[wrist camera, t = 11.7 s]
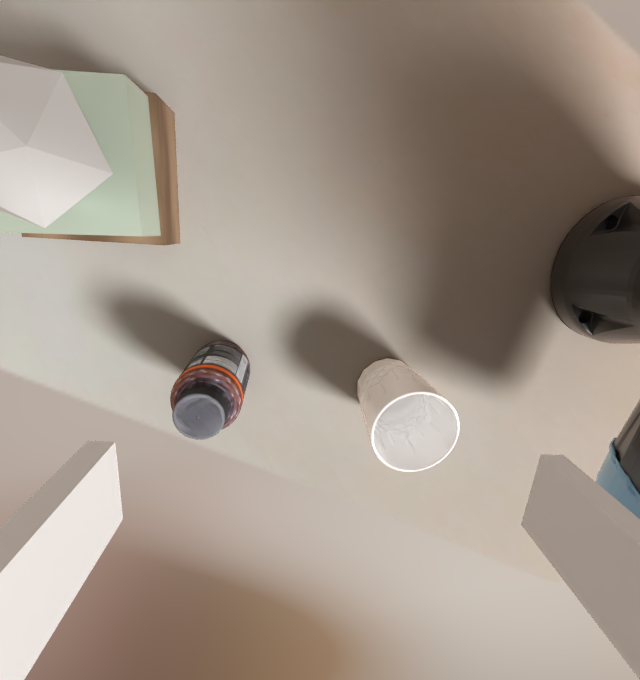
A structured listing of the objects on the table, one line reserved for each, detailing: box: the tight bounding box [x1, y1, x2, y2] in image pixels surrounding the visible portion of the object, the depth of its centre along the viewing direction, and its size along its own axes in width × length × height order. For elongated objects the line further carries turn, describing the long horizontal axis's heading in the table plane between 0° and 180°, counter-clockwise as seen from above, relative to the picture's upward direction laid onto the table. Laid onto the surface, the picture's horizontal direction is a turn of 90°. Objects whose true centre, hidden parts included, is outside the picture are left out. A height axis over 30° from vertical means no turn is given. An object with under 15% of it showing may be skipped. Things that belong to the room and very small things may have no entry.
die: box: [0, 55, 113, 228], centre depth 20 cm, size 8×9×10 cm
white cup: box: [357, 358, 460, 472], centre depth 36 cm, size 8×8×10 cm
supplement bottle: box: [170, 341, 250, 440], centre depth 33 cm, size 6×6×11 cm
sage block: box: [0, 70, 161, 236], centre depth 26 cm, size 10×10×4 cm
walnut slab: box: [22, 92, 180, 245], centre depth 30 cm, size 11×11×5 cm
